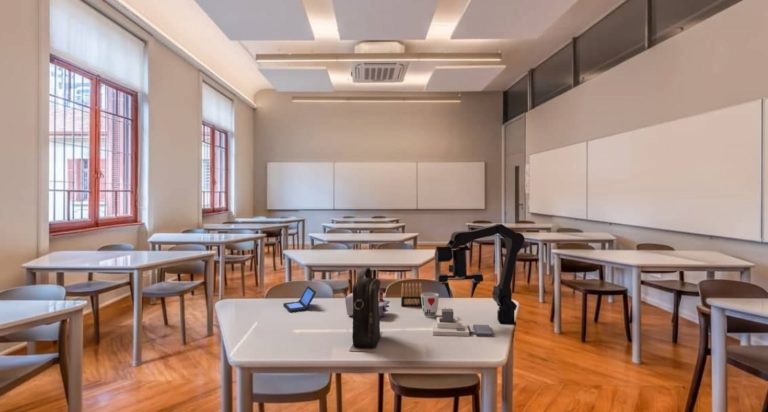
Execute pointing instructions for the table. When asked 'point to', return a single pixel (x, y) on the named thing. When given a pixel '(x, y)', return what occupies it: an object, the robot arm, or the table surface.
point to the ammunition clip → (411, 296)
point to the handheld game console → (301, 301)
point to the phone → (483, 330)
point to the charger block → (447, 315)
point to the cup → (429, 304)
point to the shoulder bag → (366, 312)
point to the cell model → (381, 302)
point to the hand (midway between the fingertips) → (460, 297)
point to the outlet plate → (450, 328)
